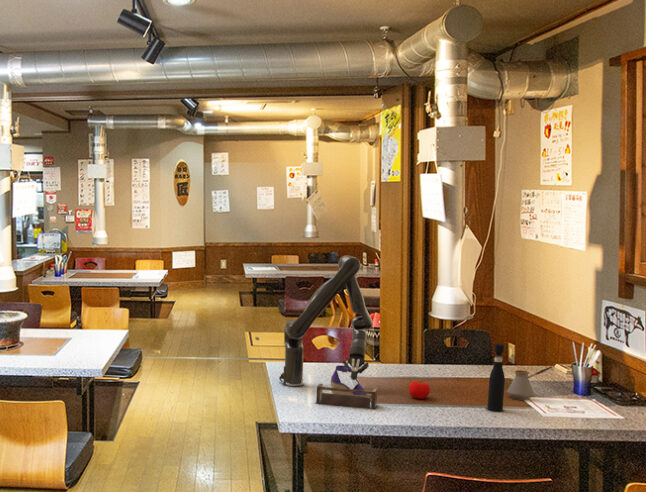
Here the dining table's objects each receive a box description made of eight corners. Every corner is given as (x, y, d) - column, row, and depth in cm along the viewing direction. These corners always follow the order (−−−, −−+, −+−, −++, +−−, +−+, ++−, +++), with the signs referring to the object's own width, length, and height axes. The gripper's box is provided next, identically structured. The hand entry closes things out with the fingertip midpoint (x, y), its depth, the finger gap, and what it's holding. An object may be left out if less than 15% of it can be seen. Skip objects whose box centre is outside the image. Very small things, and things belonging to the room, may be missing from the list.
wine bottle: (484, 407, 343) (488, 343, 338) (498, 407, 344) (502, 343, 339) (491, 411, 337) (496, 346, 332) (505, 411, 338) (510, 345, 333)
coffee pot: (515, 401, 354) (517, 370, 351) (502, 395, 365) (504, 365, 362) (557, 400, 356) (560, 369, 354) (543, 393, 367) (545, 363, 365)
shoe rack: (316, 403, 352) (316, 386, 351) (319, 399, 358) (319, 383, 357) (374, 409, 342) (375, 392, 341) (376, 405, 349) (377, 388, 347)
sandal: (372, 399, 359) (374, 368, 356) (330, 397, 363) (331, 366, 360) (371, 394, 367) (373, 364, 364) (330, 393, 370) (331, 363, 368)
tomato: (404, 397, 361) (405, 380, 360) (417, 394, 367) (418, 377, 366) (421, 401, 354) (422, 384, 353) (434, 398, 360) (435, 381, 359)
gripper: (343, 344, 378) (339, 373, 369) (371, 346, 373) (367, 376, 364) (345, 353, 384) (340, 382, 375) (371, 354, 379) (367, 384, 370)
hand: (353, 379), depth 369 cm, fingers closed
